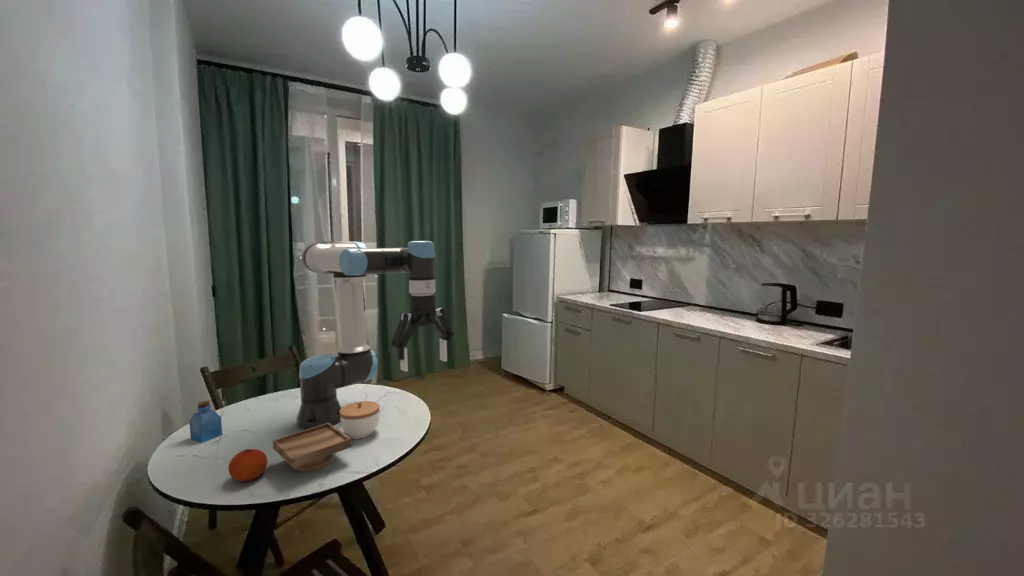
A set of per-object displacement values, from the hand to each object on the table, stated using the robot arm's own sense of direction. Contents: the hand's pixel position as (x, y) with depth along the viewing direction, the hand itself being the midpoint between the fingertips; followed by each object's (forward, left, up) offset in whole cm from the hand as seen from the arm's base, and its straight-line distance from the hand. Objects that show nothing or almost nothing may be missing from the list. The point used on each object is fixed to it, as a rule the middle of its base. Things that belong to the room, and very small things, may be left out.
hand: (424, 365), depth 120 cm
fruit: (-26, -41, -28) cm, 55 cm away
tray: (-21, -26, -28) cm, 43 cm away
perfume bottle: (-64, -44, -28) cm, 82 cm away
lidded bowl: (-28, -8, -28) cm, 40 cm away
